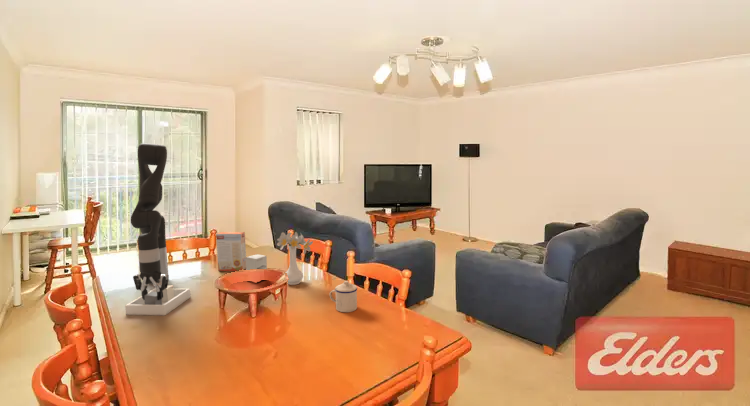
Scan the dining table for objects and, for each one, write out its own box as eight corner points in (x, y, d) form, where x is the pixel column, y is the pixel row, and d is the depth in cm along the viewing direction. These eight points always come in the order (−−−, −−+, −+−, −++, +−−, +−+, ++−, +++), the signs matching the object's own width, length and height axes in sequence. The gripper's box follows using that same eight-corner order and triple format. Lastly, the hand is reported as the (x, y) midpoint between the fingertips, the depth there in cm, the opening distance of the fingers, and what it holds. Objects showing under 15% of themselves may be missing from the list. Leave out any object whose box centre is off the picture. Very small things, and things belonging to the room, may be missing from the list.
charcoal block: (144, 309, 163) (144, 295, 162) (151, 305, 167) (151, 291, 167) (155, 310, 163) (155, 296, 162) (161, 306, 167) (161, 292, 166)
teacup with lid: (360, 305, 168) (360, 278, 166) (352, 314, 159) (352, 285, 158) (334, 302, 172) (333, 276, 170) (325, 310, 163) (324, 282, 162)
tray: (125, 314, 160) (125, 305, 160) (155, 296, 180) (155, 288, 179) (164, 315, 159) (164, 305, 159) (190, 297, 179) (189, 288, 179)
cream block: (157, 302, 172) (156, 288, 171) (164, 298, 176) (163, 285, 176) (168, 302, 172) (167, 288, 171) (174, 298, 176) (173, 285, 175)
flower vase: (307, 288, 190) (305, 236, 186) (272, 285, 194) (270, 234, 191) (317, 280, 202) (316, 231, 199) (284, 277, 207) (282, 229, 203)
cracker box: (247, 268, 223) (245, 231, 220) (242, 271, 217) (240, 233, 214) (223, 268, 224) (221, 231, 222) (217, 271, 218) (215, 233, 216)
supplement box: (256, 284, 197) (255, 258, 195) (246, 281, 201) (245, 256, 199) (267, 279, 203) (266, 255, 201) (257, 277, 207) (256, 253, 205)
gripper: (171, 257, 166) (174, 296, 168) (138, 256, 167) (141, 296, 169) (161, 262, 158) (164, 303, 161) (126, 261, 159) (129, 302, 161)
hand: (152, 299), depth 165 cm, fingers open, 5 cm apart
